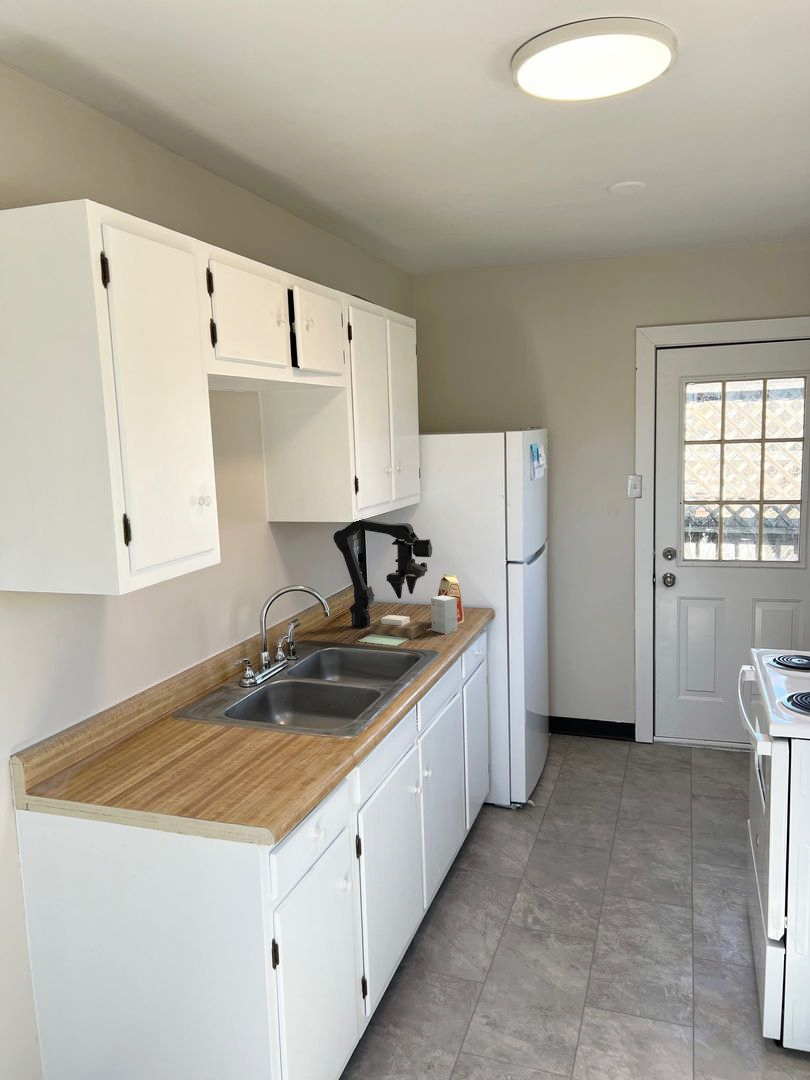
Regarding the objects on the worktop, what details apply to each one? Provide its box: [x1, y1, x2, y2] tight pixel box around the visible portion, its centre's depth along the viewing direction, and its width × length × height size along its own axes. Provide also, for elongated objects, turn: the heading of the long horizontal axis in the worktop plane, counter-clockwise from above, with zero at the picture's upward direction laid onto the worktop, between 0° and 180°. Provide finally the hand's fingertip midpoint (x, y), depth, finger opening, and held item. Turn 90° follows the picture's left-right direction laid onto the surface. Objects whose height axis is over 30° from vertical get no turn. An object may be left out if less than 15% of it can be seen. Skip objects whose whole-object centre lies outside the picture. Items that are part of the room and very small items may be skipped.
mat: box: [358, 634, 410, 647], centre depth 296 cm, size 16×10×1 cm, turn 61°
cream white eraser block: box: [380, 614, 411, 626], centre depth 306 cm, size 9×6×2 cm, turn 61°
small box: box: [430, 595, 458, 635], centre depth 306 cm, size 8×6×13 cm
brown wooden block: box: [369, 618, 425, 640], centre depth 305 cm, size 18×10×4 cm, turn 61°
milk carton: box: [437, 573, 465, 625], centre depth 319 cm, size 9×9×20 cm
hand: (405, 596), depth 311 cm, fingers open, 9 cm apart
